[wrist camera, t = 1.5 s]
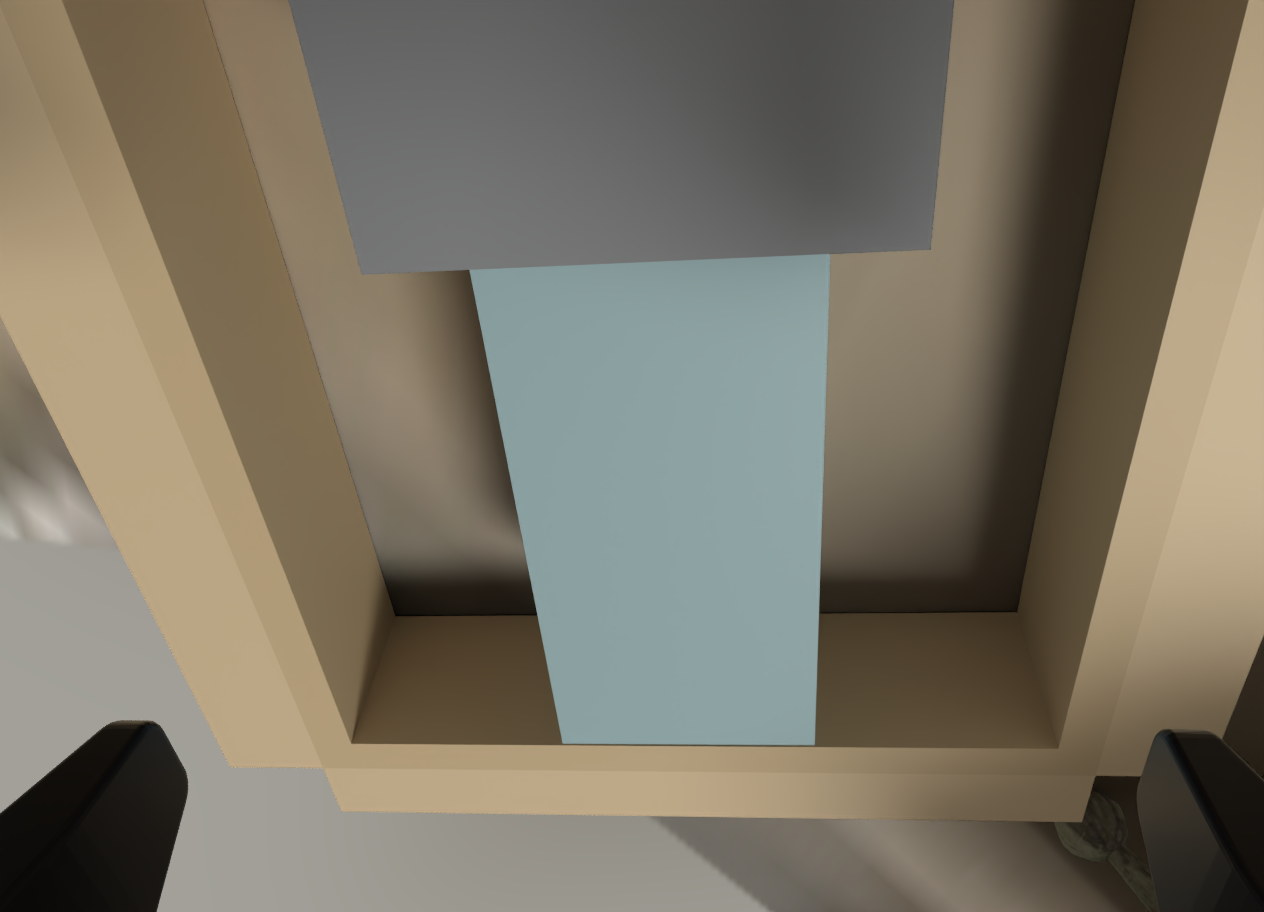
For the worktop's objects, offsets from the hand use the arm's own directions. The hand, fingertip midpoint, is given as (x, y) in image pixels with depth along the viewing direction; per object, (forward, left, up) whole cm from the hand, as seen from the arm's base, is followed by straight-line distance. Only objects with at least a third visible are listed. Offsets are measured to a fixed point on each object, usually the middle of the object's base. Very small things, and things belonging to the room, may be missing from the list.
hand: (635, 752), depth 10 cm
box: (-1, 0, -10) cm, 10 cm away
